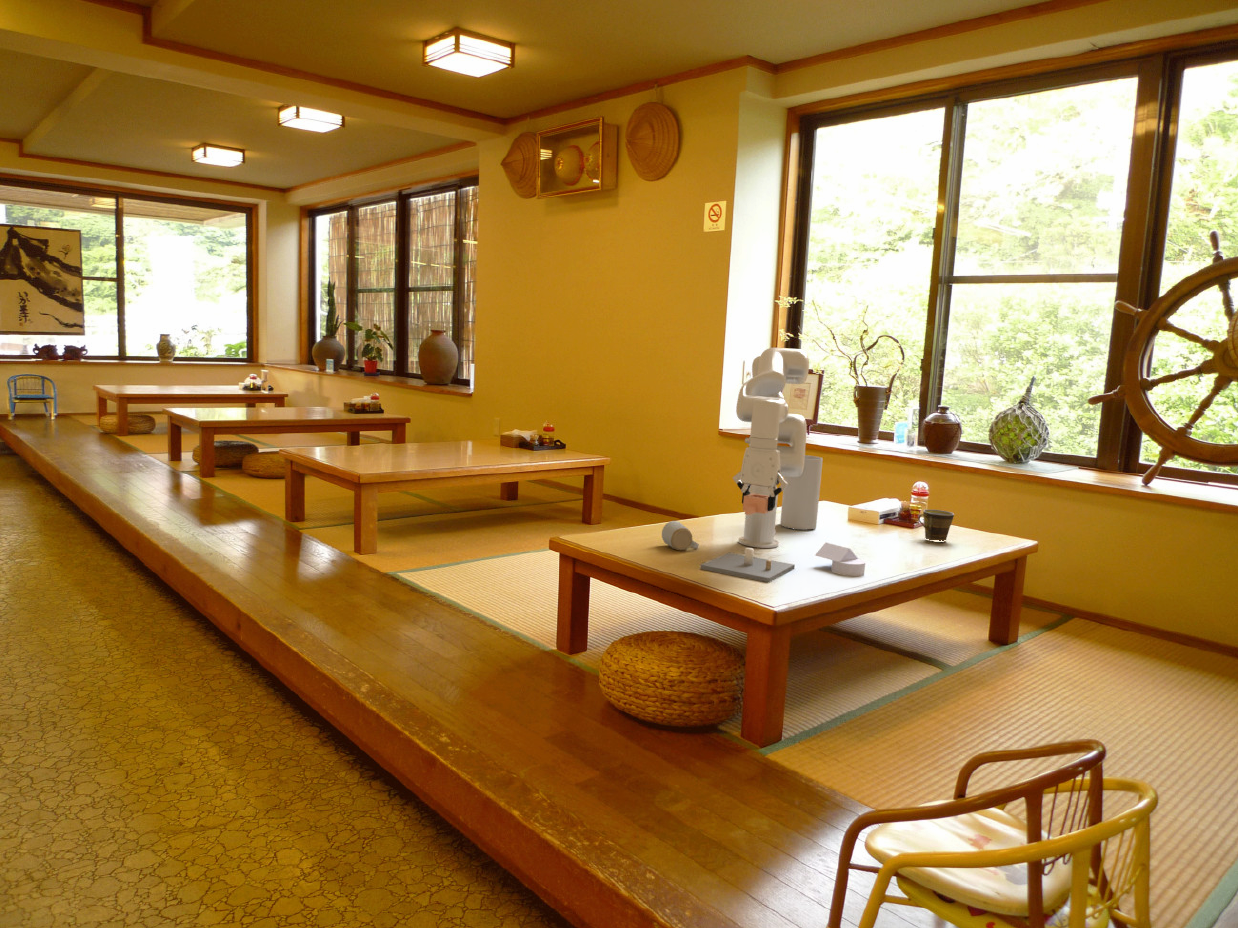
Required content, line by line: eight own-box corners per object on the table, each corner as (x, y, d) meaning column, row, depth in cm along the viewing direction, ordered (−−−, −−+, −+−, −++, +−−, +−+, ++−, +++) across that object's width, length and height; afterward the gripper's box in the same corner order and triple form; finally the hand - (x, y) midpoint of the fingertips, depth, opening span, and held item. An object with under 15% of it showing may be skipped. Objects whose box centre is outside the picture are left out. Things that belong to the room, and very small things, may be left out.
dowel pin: (766, 568, 241) (767, 559, 241) (771, 569, 240) (772, 560, 240) (764, 569, 240) (765, 560, 240) (769, 570, 239) (770, 561, 239)
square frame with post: (750, 507, 246) (752, 493, 246) (772, 510, 243) (773, 496, 243) (736, 512, 237) (737, 498, 236) (758, 516, 234) (759, 501, 233)
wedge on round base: (813, 566, 253) (851, 577, 243) (815, 543, 252) (853, 553, 242) (833, 563, 258) (870, 573, 248) (835, 540, 257) (872, 550, 247)
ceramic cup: (938, 537, 308) (941, 509, 307) (957, 543, 299) (960, 515, 297) (906, 537, 304) (909, 509, 302) (925, 544, 294) (928, 515, 293)
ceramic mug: (670, 551, 260) (672, 526, 259) (660, 545, 267) (662, 520, 266) (703, 551, 263) (705, 526, 262) (691, 545, 271) (694, 520, 270)
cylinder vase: (808, 532, 302) (815, 460, 299) (774, 526, 309) (780, 456, 305) (821, 527, 312) (827, 457, 309) (788, 521, 319) (794, 453, 316)
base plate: (729, 556, 258) (730, 537, 257) (794, 568, 248) (796, 549, 247) (700, 568, 241) (701, 548, 240) (768, 582, 231) (770, 561, 230)
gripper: (728, 441, 240) (723, 505, 243) (789, 448, 232) (783, 515, 235) (738, 439, 247) (733, 502, 249) (798, 446, 239) (792, 511, 241)
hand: (757, 507), depth 242 cm, fingers closed on square frame with post, 6 cm apart
